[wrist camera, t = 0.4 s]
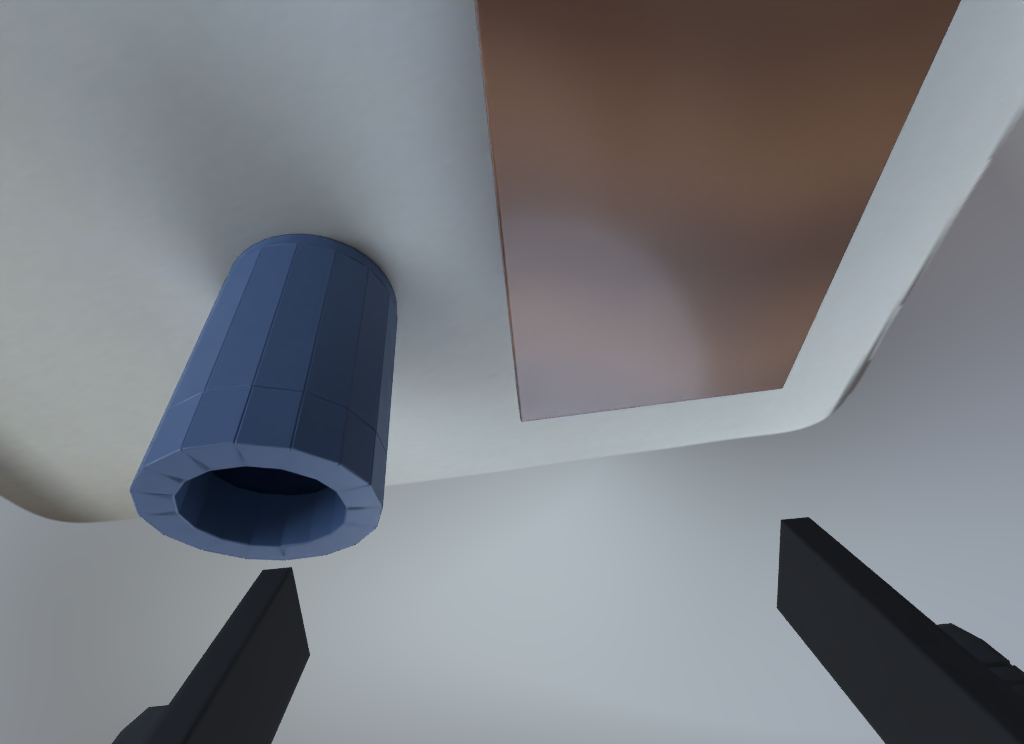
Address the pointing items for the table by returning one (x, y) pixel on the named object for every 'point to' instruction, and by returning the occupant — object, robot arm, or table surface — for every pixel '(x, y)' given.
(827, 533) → the robot arm
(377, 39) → the table surface
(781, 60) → the overhanging wooden cap box
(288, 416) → the jar
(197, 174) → the table surface
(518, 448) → the table surface
